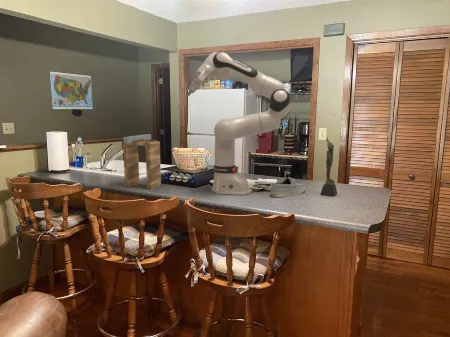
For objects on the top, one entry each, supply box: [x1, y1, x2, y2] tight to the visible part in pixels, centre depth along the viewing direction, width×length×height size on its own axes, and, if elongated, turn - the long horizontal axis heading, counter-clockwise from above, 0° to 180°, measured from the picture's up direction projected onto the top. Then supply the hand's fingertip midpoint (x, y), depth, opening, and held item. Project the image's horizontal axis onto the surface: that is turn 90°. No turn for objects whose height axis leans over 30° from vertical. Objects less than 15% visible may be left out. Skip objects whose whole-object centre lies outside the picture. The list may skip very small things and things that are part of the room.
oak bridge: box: [122, 139, 162, 190], centre depth 208 cm, size 18×10×27 cm, turn 69°
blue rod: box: [122, 133, 152, 143], centre depth 209 cm, size 3×23×3 cm, turn 159°
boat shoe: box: [270, 177, 306, 198], centre depth 192 cm, size 9×25×9 cm, turn 136°
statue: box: [320, 137, 338, 198], centre depth 189 cm, size 7×8×30 cm
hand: (189, 92), depth 203 cm, fingers open, 8 cm apart
